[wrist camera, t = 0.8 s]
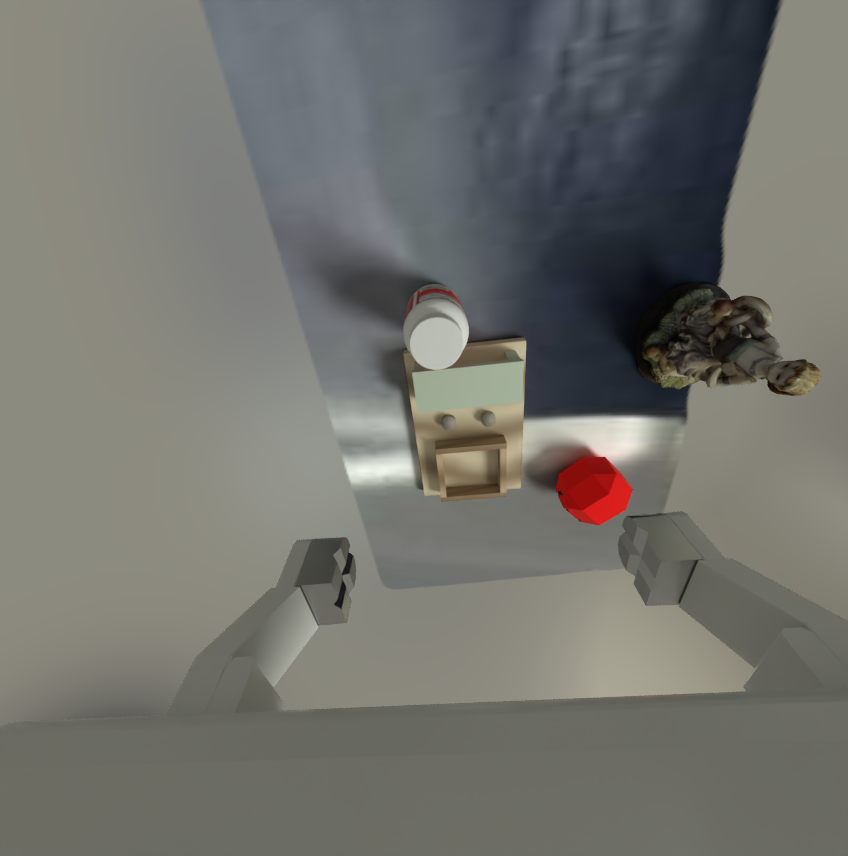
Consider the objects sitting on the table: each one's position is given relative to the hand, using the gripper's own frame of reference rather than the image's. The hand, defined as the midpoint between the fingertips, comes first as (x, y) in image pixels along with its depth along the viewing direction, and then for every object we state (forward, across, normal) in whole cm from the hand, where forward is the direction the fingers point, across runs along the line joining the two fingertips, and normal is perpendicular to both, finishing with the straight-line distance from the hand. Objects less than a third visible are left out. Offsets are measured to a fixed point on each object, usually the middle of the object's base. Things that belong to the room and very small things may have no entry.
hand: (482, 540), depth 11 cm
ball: (+34, -18, +26) cm, 46 cm away
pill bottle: (+34, +1, +1) cm, 34 cm away
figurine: (+34, -27, +7) cm, 44 cm away
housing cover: (+32, -2, +9) cm, 33 cm away
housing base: (+34, -2, +16) cm, 37 cm away
